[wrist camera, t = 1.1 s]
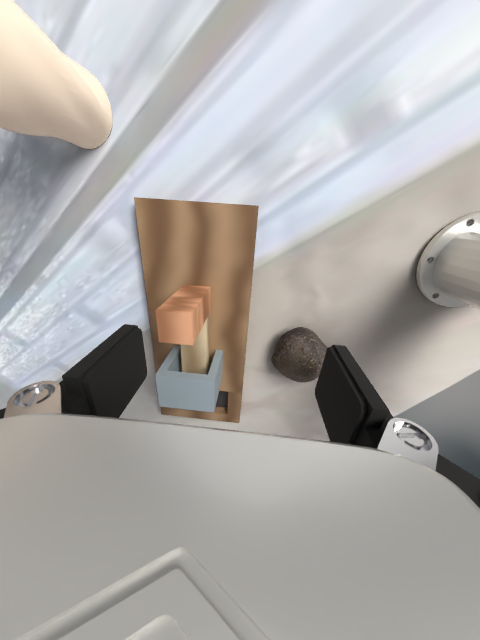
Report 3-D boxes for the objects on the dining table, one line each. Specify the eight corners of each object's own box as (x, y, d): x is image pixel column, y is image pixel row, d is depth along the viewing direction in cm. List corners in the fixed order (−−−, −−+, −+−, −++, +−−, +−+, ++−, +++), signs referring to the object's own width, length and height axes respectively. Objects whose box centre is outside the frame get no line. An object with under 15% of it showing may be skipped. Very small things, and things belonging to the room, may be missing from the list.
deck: (258, 206, 29) (258, 205, 28) (240, 414, 46) (239, 423, 45) (141, 198, 30) (134, 197, 28) (165, 406, 47) (161, 414, 45)
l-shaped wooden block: (210, 286, 33) (191, 313, 24) (210, 381, 41) (195, 428, 32) (183, 284, 33) (155, 310, 24) (188, 379, 41) (168, 425, 32)
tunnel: (223, 350, 37) (214, 381, 30) (222, 378, 40) (214, 412, 33) (174, 345, 38) (155, 375, 31) (176, 373, 40) (159, 406, 33)
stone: (305, 360, 44) (353, 364, 35) (278, 388, 40) (325, 401, 31) (283, 317, 42) (328, 311, 33) (252, 343, 38) (295, 342, 29)
